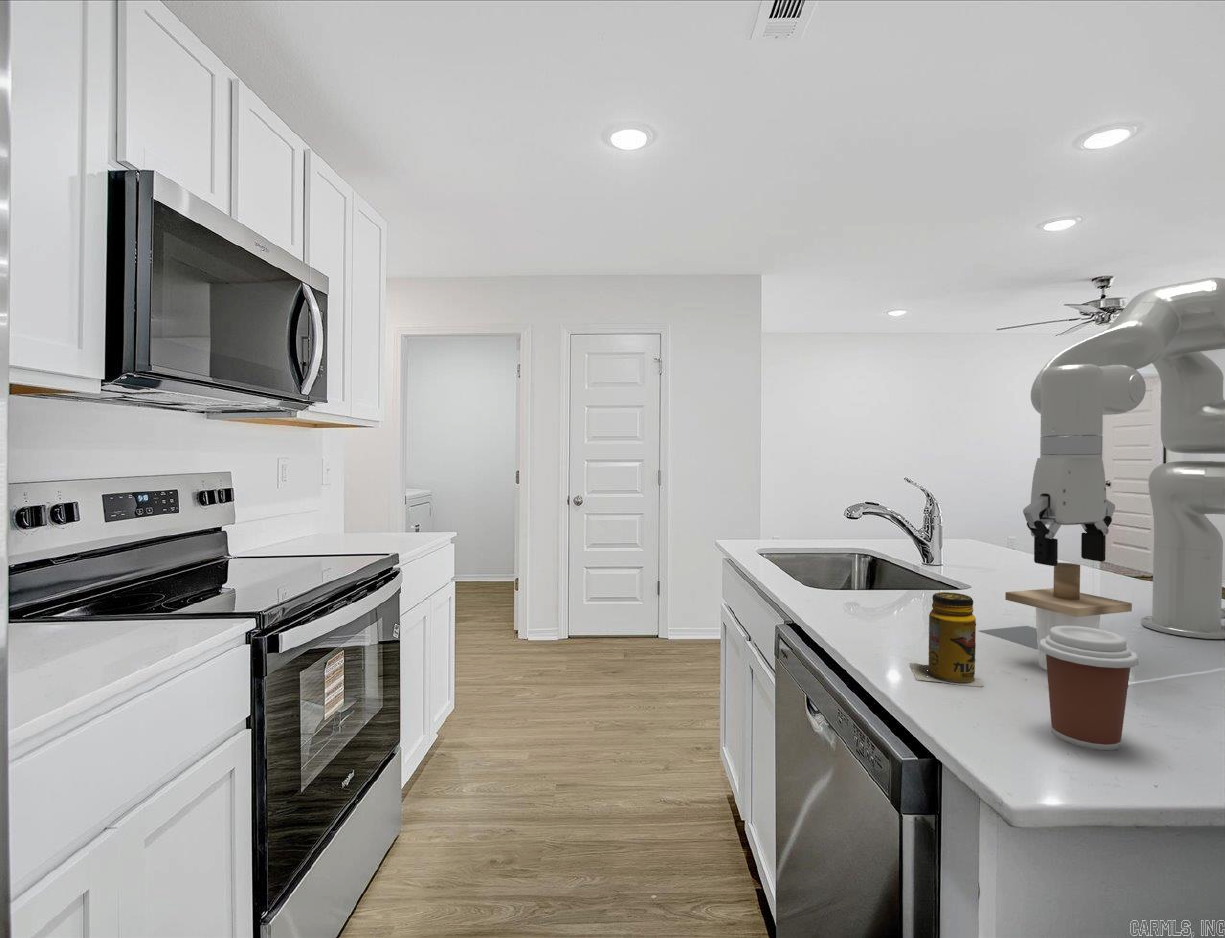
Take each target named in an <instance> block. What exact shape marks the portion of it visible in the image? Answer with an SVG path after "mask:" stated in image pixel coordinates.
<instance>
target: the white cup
mask: <svg viewBox="0 0 1225 938" xmlns="http://www.w3.org/2000/svg"><path fill="white" fill-rule="evenodd" d="M1100 618H1101V615H1092V616H1083V617H1074V616H1070V615H1066V614H1062V613H1058V612H1054V611H1050V610H1045V609H1041V608H1037V607H1035V622H1036V625H1035V628H1036V631H1037V644H1038V646H1037V648H1038V666H1039V667H1040V668H1041V669H1043V670H1046V671H1047V662H1046V654H1045V653H1044V652H1042V651H1041V650H1039V643H1040V640H1041V639H1044V638H1046V636H1048V635H1050V629H1051V628H1052V627H1056V626H1080V627H1088V628H1095V629H1100Z"/></svg>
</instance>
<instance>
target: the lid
mask: <svg viewBox="0 0 1225 938" xmlns="http://www.w3.org/2000/svg"><path fill="white" fill-rule="evenodd" d="M1004 596H1005V601H1009V602H1013V603H1017V604H1021V605H1025V606H1029V607H1033V608H1036V607H1037V608H1041V609H1045V610H1050V611H1054V612H1058V613H1062V614H1066V615H1070V616H1074V617H1083V616H1092V615H1100V616H1101V615H1109V614H1120V613H1130V612H1132V610H1133V603H1132V602H1129V601H1128V602H1127V601H1123V600H1118V599H1114V598H1113V599H1112V598H1109V597H1103V596H1097V595H1093V594H1090V593H1089V594H1088V593H1084V592H1081V565H1080V564H1077V563H1069V562H1058V563H1057V565H1056V566H1053V587H1052V588H1041V589H1040V588H1039V589H1028V590H1026V589H1025V590H1015V591H1005V595H1004Z"/></svg>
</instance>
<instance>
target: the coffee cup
mask: <svg viewBox="0 0 1225 938" xmlns="http://www.w3.org/2000/svg"><path fill="white" fill-rule="evenodd" d="M1039 650H1041V651H1042V652H1044V653H1045V654H1046V662H1047V670H1046V675H1047V685H1048V687H1047V688H1048V698H1049V710H1050V711H1049V712H1050V723H1051V728H1050V729H1051V733H1052V734H1053V735H1054V736H1055V737H1056V738H1057V739H1060V740H1062V741H1064V742H1065V743H1068V744H1072V745H1075V746H1077V747H1081V748H1086V749H1090V750H1095V751H1096V750H1098V751H1116V750H1118V749H1120V748H1121V747H1122V738H1123V737H1122V736H1123V727H1124V721H1125V720H1124V719H1125V714H1126V711H1125V710H1126V706H1127V705H1126V704H1127V697H1128V690H1129V689H1128V687H1129V681H1130V680H1129V679H1130V672H1131V668H1133V667H1135V666H1138V665H1139V657H1138V654H1137V653H1136V652H1134V651H1132V650H1131V648H1130V647H1129V646H1127V640H1126V638H1125V637H1124V636H1123V635H1120V634H1119V633H1116V632H1112V631H1109V630H1104V629H1100V628H1099V629H1095V628H1088V627H1080V626H1056V627H1052V628H1051V629H1050V635H1048V636H1046V638H1044V639H1041V640H1040V643H1039ZM1039 650H1038V651H1039Z"/></svg>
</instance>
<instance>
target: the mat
mask: <svg viewBox="0 0 1225 938" xmlns="http://www.w3.org/2000/svg"><path fill="white" fill-rule="evenodd" d="M978 632H980V633H983V634H986V635H989V636H992V637H996V638H999V639H1002V640H1005V641H1008V642H1011V643H1015V644H1018V645H1022V646H1026V647H1028V648H1031V649H1034V650H1038V648H1037V646H1038V644H1037V631H1036V627H1034V626H1029V625H1022V626H1010V627H1001V628H990V629H982V630H978ZM1038 651H1039V650H1038Z"/></svg>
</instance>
